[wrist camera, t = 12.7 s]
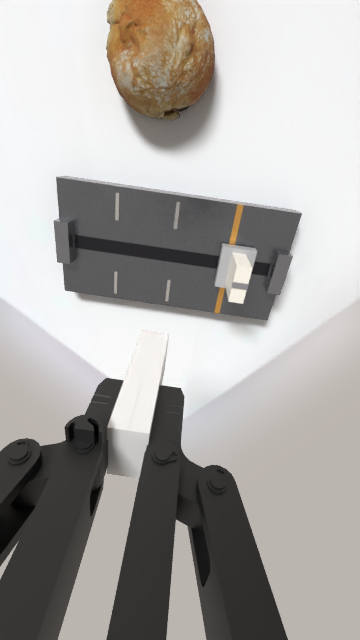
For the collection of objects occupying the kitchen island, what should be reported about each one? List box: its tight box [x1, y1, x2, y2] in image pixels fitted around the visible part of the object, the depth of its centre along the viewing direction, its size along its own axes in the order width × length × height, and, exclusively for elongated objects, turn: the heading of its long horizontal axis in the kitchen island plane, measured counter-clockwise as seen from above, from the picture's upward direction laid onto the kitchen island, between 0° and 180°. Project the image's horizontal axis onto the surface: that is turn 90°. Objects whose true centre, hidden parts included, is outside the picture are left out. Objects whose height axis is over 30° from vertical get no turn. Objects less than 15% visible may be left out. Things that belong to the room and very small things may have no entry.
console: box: [54, 176, 302, 320], centre depth 36 cm, size 28×14×4 cm, turn 83°
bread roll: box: [106, 0, 215, 120], centre depth 27 cm, size 10×10×8 cm
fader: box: [214, 243, 257, 304], centre depth 33 cm, size 4×5×7 cm
